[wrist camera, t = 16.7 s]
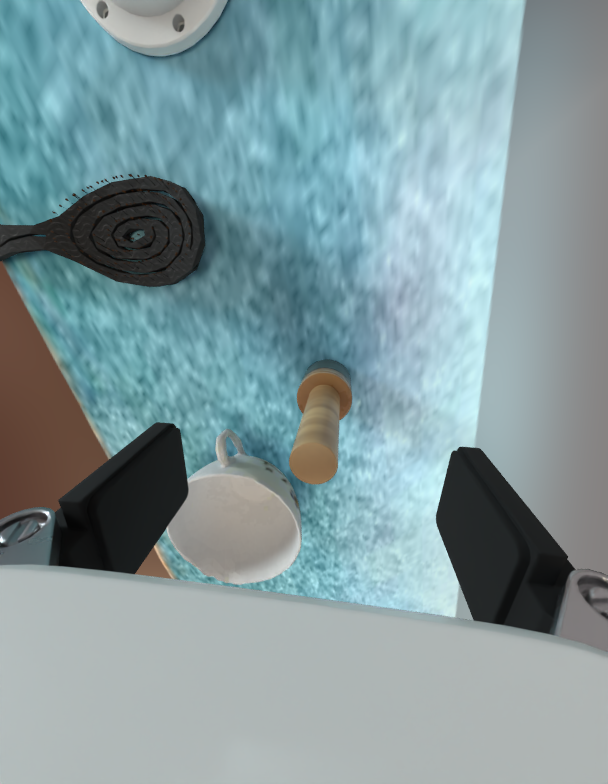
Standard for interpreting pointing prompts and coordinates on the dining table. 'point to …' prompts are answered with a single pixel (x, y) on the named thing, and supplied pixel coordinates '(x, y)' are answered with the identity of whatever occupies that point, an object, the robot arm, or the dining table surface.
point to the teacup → (238, 518)
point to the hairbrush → (121, 232)
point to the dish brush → (320, 421)
